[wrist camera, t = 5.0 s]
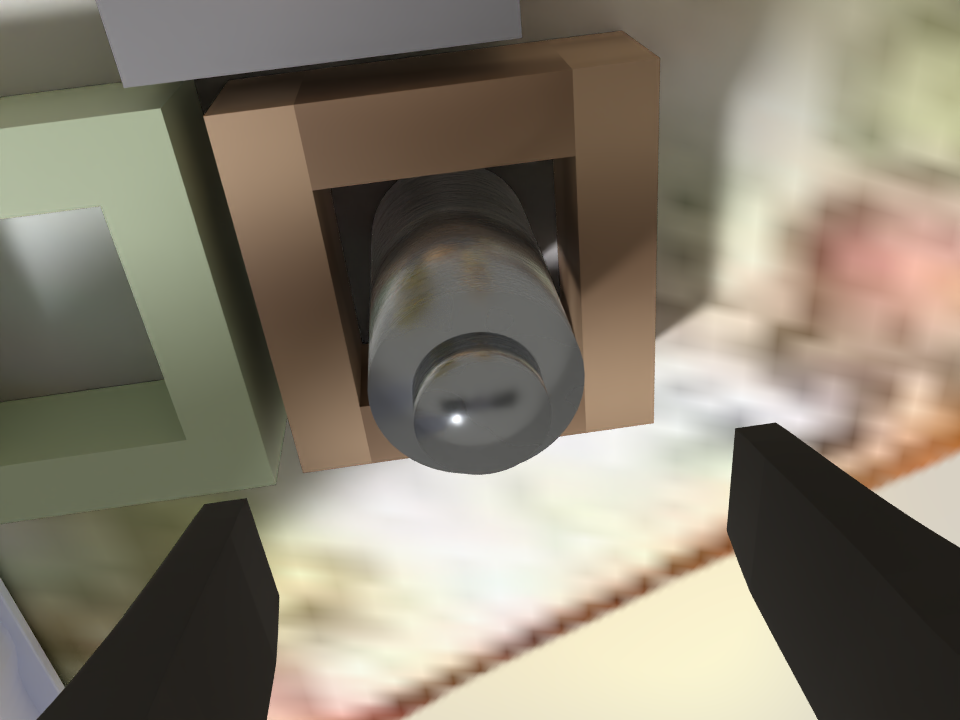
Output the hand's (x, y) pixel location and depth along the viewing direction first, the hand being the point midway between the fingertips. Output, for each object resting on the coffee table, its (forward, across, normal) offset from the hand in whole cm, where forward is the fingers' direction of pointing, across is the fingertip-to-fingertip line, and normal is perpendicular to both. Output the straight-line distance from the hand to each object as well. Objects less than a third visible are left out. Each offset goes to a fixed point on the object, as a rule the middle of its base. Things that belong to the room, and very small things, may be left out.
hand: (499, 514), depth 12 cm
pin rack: (+10, +10, 0) cm, 14 cm away
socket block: (+10, 0, 0) cm, 10 cm away
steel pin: (+10, 0, 0) cm, 10 cm away
